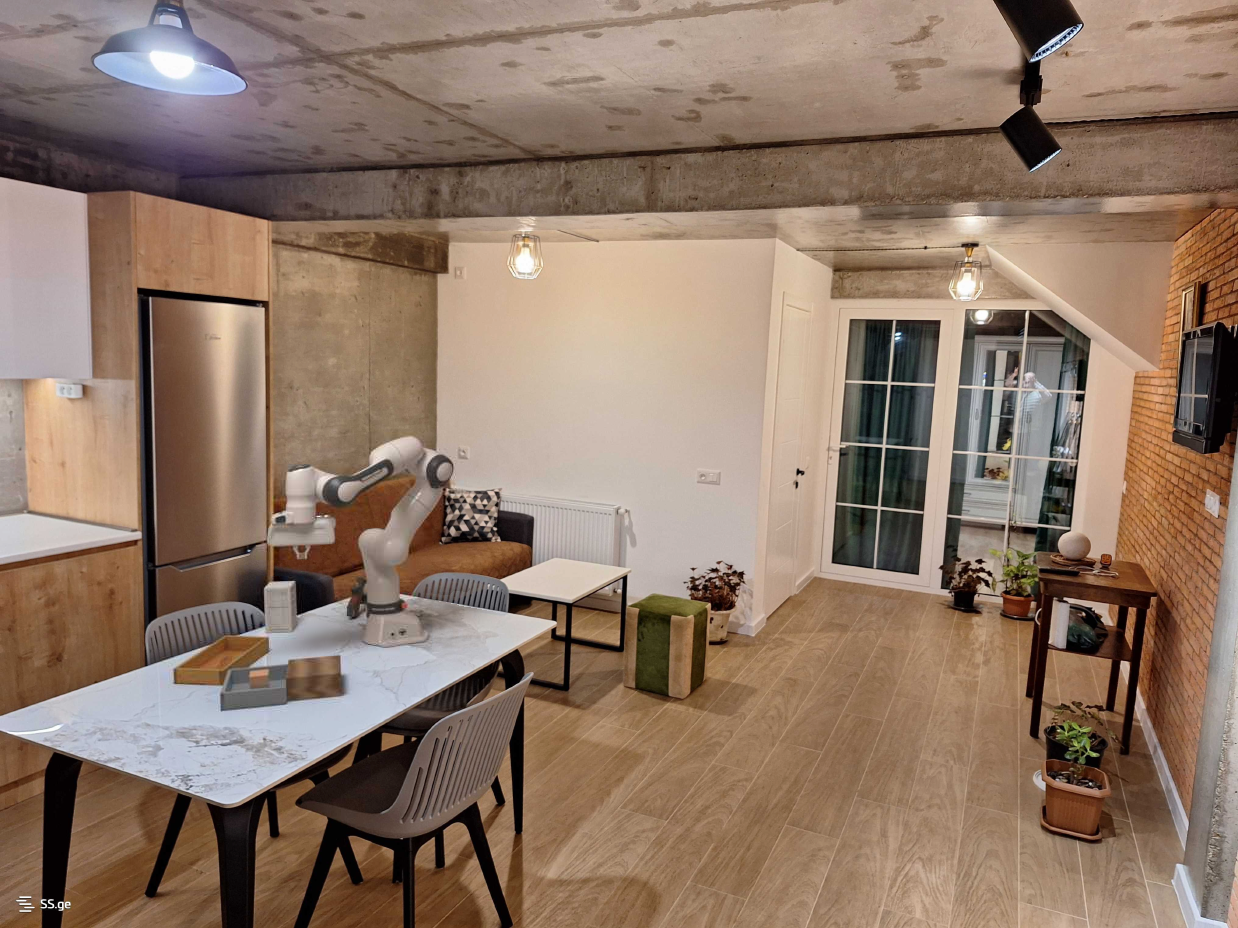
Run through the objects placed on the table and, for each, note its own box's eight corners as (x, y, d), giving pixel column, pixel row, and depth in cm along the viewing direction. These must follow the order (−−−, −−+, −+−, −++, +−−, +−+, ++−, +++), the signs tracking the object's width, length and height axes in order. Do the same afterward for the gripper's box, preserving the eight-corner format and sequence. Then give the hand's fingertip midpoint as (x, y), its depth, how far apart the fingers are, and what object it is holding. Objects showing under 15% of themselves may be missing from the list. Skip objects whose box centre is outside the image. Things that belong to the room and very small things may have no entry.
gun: (381, 616, 344) (385, 580, 346) (355, 616, 317) (359, 577, 319) (370, 615, 344) (373, 579, 347) (343, 616, 317) (347, 576, 320)
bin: (289, 679, 256) (289, 663, 256) (286, 704, 237) (285, 687, 237) (228, 685, 251) (228, 669, 250) (220, 710, 232) (220, 693, 231)
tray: (223, 687, 250) (222, 669, 250) (173, 685, 251) (173, 667, 250) (269, 652, 281) (269, 636, 280) (225, 651, 281) (225, 635, 281)
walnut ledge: (340, 676, 259) (340, 655, 258) (341, 695, 244) (341, 672, 243) (289, 681, 254) (288, 659, 254) (286, 701, 239) (286, 678, 239)
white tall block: (297, 624, 311) (296, 580, 309) (292, 632, 302) (291, 586, 300) (270, 625, 309) (269, 581, 307) (264, 633, 300) (263, 587, 298)
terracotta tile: (269, 678, 247) (268, 669, 247) (268, 684, 242) (267, 675, 242) (250, 680, 245) (250, 670, 245) (249, 686, 241) (249, 676, 240)
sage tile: (251, 680, 246) (251, 690, 246) (250, 686, 241) (250, 696, 241) (269, 678, 247) (269, 688, 248) (268, 684, 243) (269, 694, 243)
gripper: (335, 513, 270) (336, 554, 271) (267, 515, 263) (268, 558, 265) (335, 516, 264) (336, 559, 265) (266, 518, 257) (267, 562, 259)
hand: (302, 558), depth 265 cm, fingers closed
